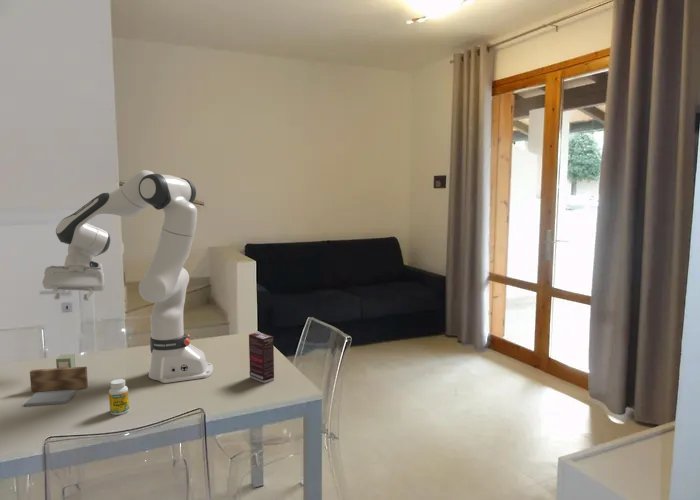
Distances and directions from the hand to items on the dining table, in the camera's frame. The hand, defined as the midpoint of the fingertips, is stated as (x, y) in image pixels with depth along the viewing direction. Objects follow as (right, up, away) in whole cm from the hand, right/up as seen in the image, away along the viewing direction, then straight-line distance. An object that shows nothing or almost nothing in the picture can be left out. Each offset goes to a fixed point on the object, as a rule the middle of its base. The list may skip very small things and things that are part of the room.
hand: (71, 299), depth 186 cm
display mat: (+5, -30, -21) cm, 37 cm away
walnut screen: (+3, -29, -13) cm, 32 cm away
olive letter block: (+2, -28, -6) cm, 29 cm away
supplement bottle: (+31, -31, -30) cm, 53 cm away
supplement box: (+70, -28, -4) cm, 75 cm away
